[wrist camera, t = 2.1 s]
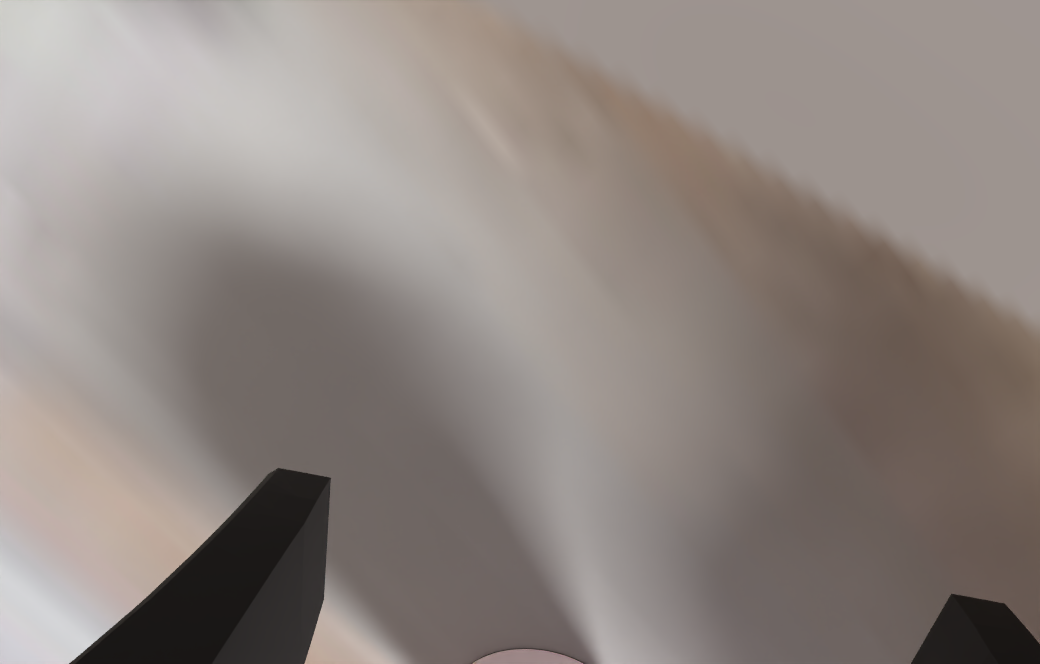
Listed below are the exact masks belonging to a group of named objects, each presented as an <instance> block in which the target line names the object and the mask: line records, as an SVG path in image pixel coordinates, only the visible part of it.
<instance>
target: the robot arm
mask: <svg viewBox="0 0 1040 664" xmlns="http://www.w3.org/2000/svg"><path fill="white" fill-rule="evenodd" d="M330 480H331V478H329V477H324V476H318V475H313V474H308V473H302V472H297V471H291V470H286V469H281V468H278V469H276V470H275V471H273V472H271V473H269V474H268V475H267V476H266V478H265V479H264V480H263V481H262V482H261V483H260V484H259V485H258V487H257V488H256V489H255V490H254V491H253V492H252V493H251V494H250V495H249V496H248V497H247V499H246V500H245V501H244V502H243V503H242V504H241V505H240V506H239V507H238V508H237V509H236V510H235V511H234V512H233V514H232V515H231V516H230V517H229V518H228V519H227V520H226V521H225V522H224V523H223V524H222V525H221V526H220V527H219V528H218V529H217V530H216V531H215V532H214V533H213V534H212V535H211V536H210V537H209V538H208V539H207V540H206V541H205V542H204V543H203V544H202V545H201V546H200V547H199V548H198V549H197V550H196V551H195V552H194V553H193V554H192V555H191V556H190V557H189V558H188V559H187V560H186V561H185V562H183V563H182V564H181V565H180V566H179V567H178V568H177V569H176V570H175V571H174V572H173V573H172V574H171V575H170V576H169V577H168V578H167V579H165V580H164V581H163V582H162V583H161V584H160V585H159V586H158V587H157V588H156V589H155V590H154V591H153V592H152V593H151V594H150V595H149V596H147V597H146V598H145V599H144V600H143V601H142V602H141V603H140V604H139V605H137V606H136V607H135V608H134V609H133V610H132V611H131V612H129V613H128V614H127V615H126V616H125V617H124V618H122V619H121V620H120V621H119V622H118V623H117V624H115V625H114V626H113V627H112V628H111V629H110V630H108V631H107V632H106V633H105V634H104V635H103V636H101V637H100V638H99V639H98V640H97V641H96V642H94V643H93V644H92V645H91V646H90V647H88V648H87V649H86V650H85V651H84V652H83V653H81V654H80V655H79V656H78V657H77V658H76V659H74V660H73V661H72V662H71V663H69V664H304V663H305V660H306V657H307V654H308V650H309V647H310V644H311V641H312V637H313V634H314V631H315V627H316V624H317V621H318V617H319V614H320V610H321V607H322V604H323V600H324V586H325V568H326V551H327V533H328V515H329V498H330ZM911 664H1040V644H1039V643H1038V642H1037V640H1036V639H1035V638H1034V637H1033V636H1032V634H1031V633H1030V632H1029V631H1028V630H1027V629H1026V627H1025V626H1024V625H1023V624H1022V623H1021V622H1020V620H1019V619H1018V618H1017V617H1016V616H1015V615H1014V614H1013V613H1012V611H1011V610H1010V609H1009V608H1008V607H1007V606H1006V605H1005V604H1004V603H998V602H993V601H988V600H982V599H977V598H972V597H966V596H961V595H956V594H951V596H950V597H949V599H948V601H947V603H946V604H945V606H944V608H943V609H942V611H941V613H940V615H939V616H938V618H937V620H936V621H935V623H934V625H933V627H932V628H931V630H930V632H929V633H928V635H927V637H926V639H925V640H924V642H923V644H922V646H921V647H920V649H919V651H918V652H917V654H916V656H915V658H914V659H913V661H912V663H911Z"/></svg>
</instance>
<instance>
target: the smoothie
mask: <svg viewBox="0 0 1040 664" xmlns="http://www.w3.org/2000/svg"><path fill="white" fill-rule="evenodd" d="M472 664H583V663H581V662H579V661H577V660H575V659H573V658H570V657H567V656H565V655H561V654H558V653H554V652H549V651H543V650H535V649H515V650H507V651H501V652H497V653H493V654H490V655H488V656H485V657H483V658H481V659H479V660H477V661H475V662H474V663H472Z"/></svg>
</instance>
